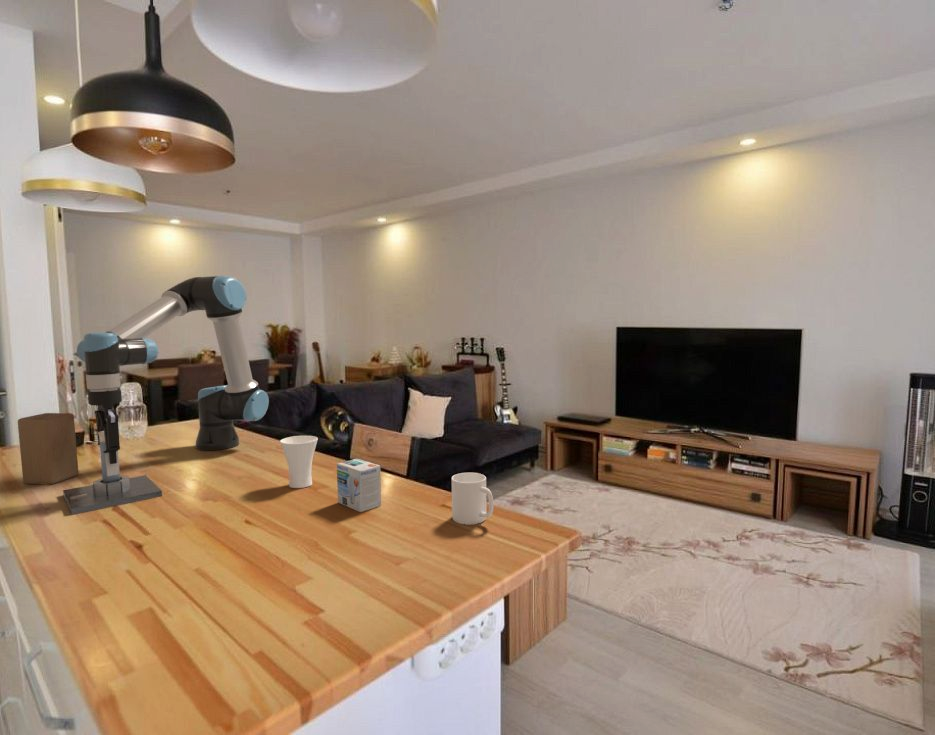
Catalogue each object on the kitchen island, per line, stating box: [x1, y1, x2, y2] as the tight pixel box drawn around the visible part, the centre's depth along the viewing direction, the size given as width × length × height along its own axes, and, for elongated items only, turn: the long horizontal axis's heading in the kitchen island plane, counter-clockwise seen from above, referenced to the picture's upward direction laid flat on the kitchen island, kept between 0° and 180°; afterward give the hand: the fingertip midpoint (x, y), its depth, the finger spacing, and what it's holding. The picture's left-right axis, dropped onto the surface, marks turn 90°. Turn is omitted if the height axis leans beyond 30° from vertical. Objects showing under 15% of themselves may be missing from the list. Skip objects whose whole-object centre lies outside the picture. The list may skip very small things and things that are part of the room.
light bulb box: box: [336, 458, 382, 513], centre depth 136 cm, size 11×7×11 cm, turn 47°
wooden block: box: [17, 412, 79, 485], centre depth 159 cm, size 10×10×20 cm
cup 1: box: [279, 435, 319, 489], centre depth 152 cm, size 10×10×14 cm
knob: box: [97, 431, 121, 483], centre depth 144 cm, size 4×4×15 cm
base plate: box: [62, 474, 163, 516], centre depth 145 cm, size 20×20×4 cm
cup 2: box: [451, 472, 495, 526], centre depth 124 cm, size 8×12×10 cm
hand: (110, 473), depth 144 cm, fingers closed on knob, 4 cm apart
